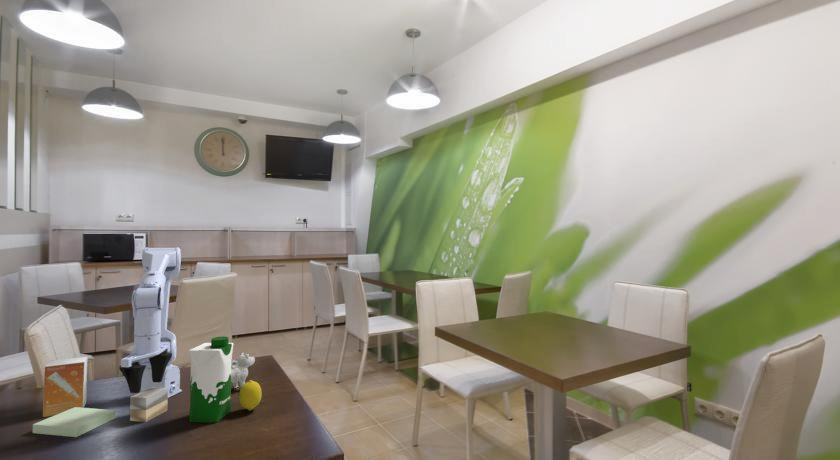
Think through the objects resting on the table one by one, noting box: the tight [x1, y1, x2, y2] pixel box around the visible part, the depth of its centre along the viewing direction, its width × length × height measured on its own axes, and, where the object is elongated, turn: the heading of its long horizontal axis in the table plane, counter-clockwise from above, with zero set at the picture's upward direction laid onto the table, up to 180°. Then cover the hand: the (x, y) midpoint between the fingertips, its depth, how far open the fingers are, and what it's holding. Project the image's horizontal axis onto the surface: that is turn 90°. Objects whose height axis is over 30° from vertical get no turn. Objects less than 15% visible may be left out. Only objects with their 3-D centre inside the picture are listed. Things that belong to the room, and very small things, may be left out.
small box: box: [42, 356, 89, 418], centre depth 108 cm, size 8×6×13 cm
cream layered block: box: [129, 387, 169, 423], centre depth 105 cm, size 4×7×6 cm, turn 171°
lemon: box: [238, 379, 263, 411], centre depth 108 cm, size 6×6×8 cm
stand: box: [32, 407, 116, 438], centre depth 99 cm, size 12×10×2 cm
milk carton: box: [188, 336, 234, 423], centre depth 105 cm, size 9×9×20 cm
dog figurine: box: [231, 352, 256, 389], centre depth 122 cm, size 5×13×11 cm, turn 148°
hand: (146, 387), depth 105 cm, fingers open, 7 cm apart
